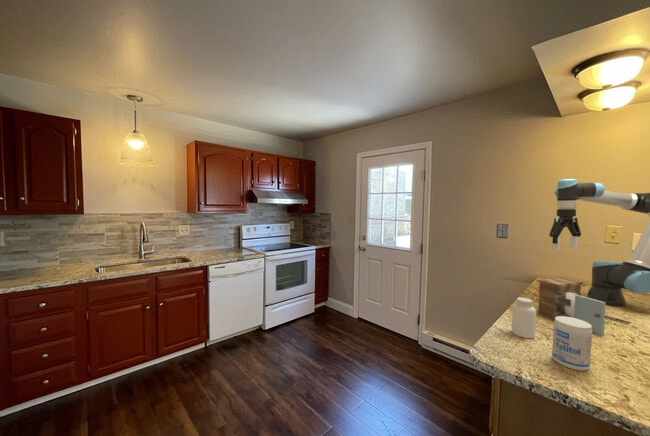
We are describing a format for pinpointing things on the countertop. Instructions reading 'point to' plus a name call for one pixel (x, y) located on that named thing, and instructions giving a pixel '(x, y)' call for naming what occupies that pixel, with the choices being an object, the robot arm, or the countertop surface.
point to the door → (587, 311)
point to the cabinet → (556, 295)
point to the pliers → (617, 320)
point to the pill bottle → (524, 318)
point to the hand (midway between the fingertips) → (564, 249)
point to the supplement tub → (572, 342)
